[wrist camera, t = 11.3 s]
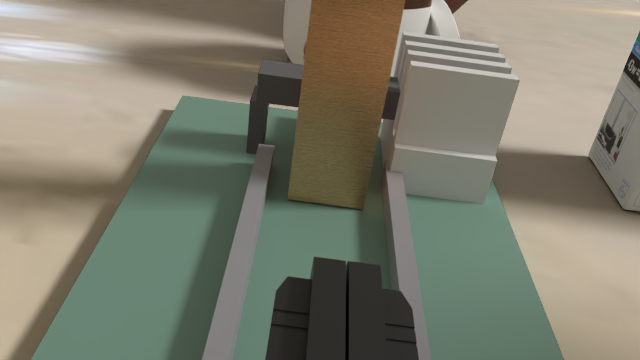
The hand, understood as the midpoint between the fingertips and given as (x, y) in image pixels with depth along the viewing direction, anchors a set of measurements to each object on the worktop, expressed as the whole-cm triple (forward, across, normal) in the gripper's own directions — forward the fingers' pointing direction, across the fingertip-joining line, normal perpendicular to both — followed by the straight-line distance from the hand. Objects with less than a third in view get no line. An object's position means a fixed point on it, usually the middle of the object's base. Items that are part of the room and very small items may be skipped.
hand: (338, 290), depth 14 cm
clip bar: (+18, 0, +6) cm, 19 cm away
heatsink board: (+12, 0, +8) cm, 14 cm away
